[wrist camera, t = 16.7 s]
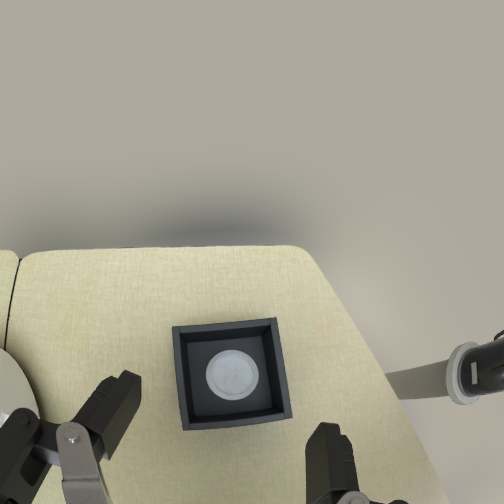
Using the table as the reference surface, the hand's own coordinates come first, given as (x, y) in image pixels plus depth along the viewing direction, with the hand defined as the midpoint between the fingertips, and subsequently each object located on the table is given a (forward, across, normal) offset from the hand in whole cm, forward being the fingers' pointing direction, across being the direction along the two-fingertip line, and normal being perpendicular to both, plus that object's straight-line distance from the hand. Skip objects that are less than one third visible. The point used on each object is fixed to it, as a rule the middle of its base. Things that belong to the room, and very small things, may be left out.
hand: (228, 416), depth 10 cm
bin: (+20, 0, -16) cm, 26 cm away
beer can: (+19, 0, -16) cm, 25 cm away
